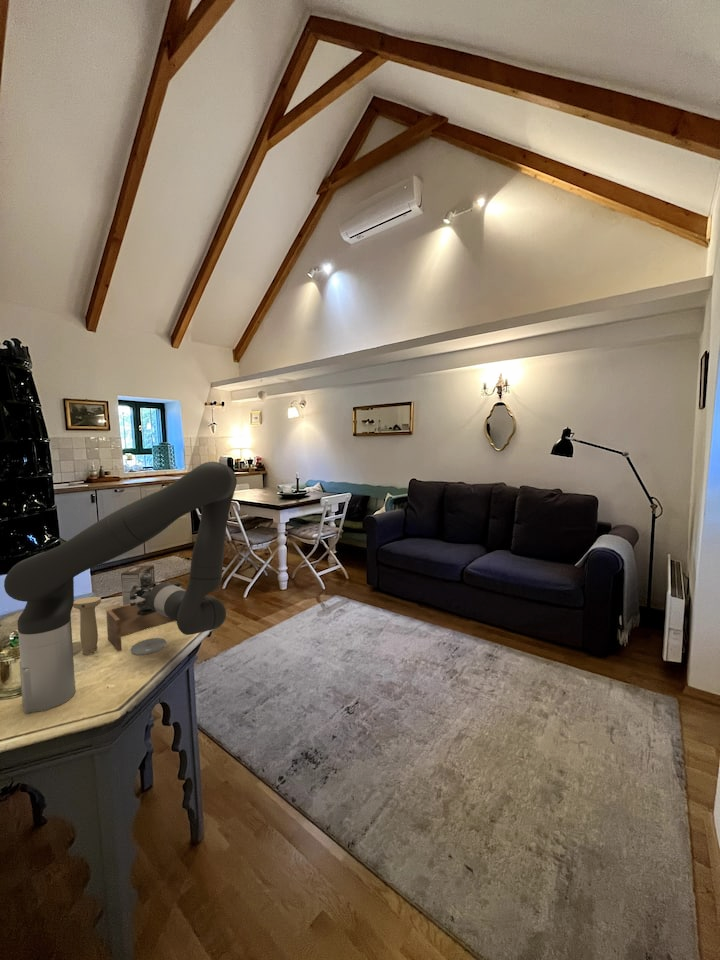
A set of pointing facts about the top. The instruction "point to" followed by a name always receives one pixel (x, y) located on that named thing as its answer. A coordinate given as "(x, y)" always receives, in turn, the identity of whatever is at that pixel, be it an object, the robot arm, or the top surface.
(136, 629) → the walnut cubby
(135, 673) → the top surface
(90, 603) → the turned wooden grip
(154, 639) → the coaster
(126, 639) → the top surface
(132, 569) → the coffee box
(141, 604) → the grey metal upright piece
